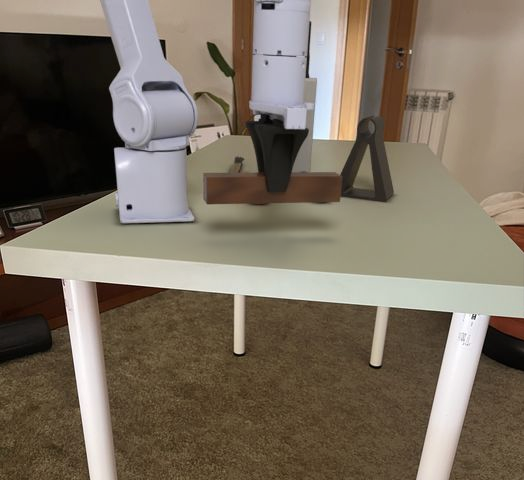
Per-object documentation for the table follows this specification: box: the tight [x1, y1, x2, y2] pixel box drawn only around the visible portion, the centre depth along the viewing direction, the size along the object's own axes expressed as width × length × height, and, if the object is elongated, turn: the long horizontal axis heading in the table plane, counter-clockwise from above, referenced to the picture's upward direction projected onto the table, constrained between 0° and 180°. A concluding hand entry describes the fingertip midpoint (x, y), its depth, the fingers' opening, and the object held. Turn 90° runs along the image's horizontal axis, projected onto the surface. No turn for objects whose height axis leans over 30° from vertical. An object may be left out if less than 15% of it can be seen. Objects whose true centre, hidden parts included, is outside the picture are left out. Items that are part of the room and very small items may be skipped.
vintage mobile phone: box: [292, 20, 318, 172], centre depth 96 cm, size 4×5×25 cm
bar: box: [202, 171, 343, 205], centre depth 64 cm, size 16×2×3 cm, turn 104°
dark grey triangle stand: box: [339, 115, 395, 203], centre depth 89 cm, size 9×6×12 cm, turn 66°
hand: (273, 188), depth 64 cm, fingers closed on bar, 2 cm apart
